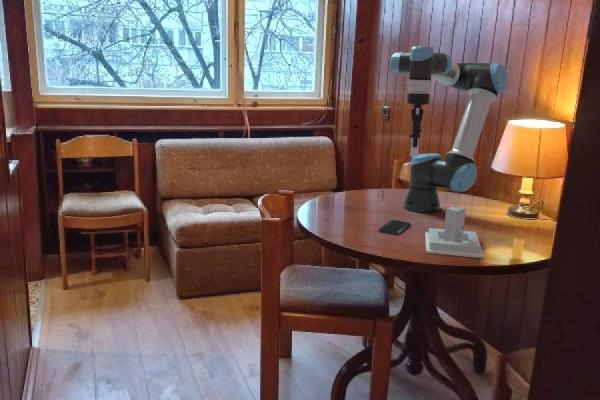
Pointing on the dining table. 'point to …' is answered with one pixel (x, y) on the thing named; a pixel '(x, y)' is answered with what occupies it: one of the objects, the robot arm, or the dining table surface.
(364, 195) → the dining table surface
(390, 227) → the phone
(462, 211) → the skincare box
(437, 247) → the socket stand
